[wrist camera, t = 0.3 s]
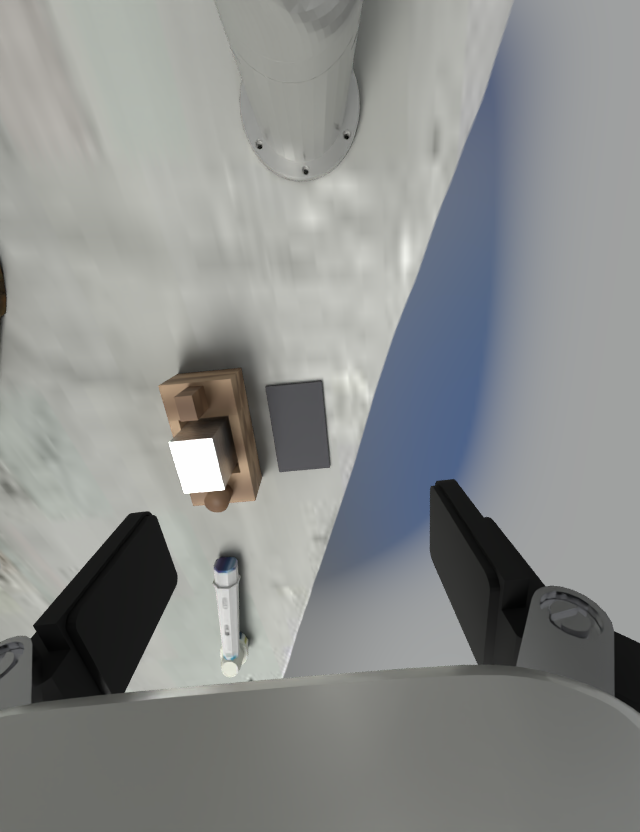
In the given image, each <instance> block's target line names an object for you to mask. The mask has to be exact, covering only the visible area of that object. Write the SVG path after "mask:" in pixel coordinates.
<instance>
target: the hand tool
mask: <svg viewBox="0 0 640 832" xmlns="http://www.w3.org/2000/svg"><path fill="white" fill-rule="evenodd" d="M4 314H6V292H5V285H4V279H3V274H2V270H1V266H0V318H1V316H2V315H4Z"/></svg>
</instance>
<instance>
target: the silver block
mask: <svg viewBox="0 0 640 832" xmlns="http://www.w3.org/2000/svg"><path fill="white" fill-rule="evenodd" d="M169 444H170V448H171V451H172V454H173V458H174V461H175V464H176V468H177V471H178V474H179V478H180V481H181V484H182V488H183V491H184V493H194V492H205V491H217V490H225V487H226V485H227V483H228V481H229V479H230V477H231V474H232V472H233V470H234V468H235V466H236V463H237V461H238V459H237V454H236V449H235V445H234V440H233V435H232V431H231V426H230V422H229V417H228V416H220V417H209V418H199V420H194V421H189V422H188V423H187V424H186V425H185V426H184V427H183V428H182V429H181V430H180V431H179V432H178V433H177V434H176V435H175V437H174V438H173V439H172V440H171V441H170V442H169Z"/></svg>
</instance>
